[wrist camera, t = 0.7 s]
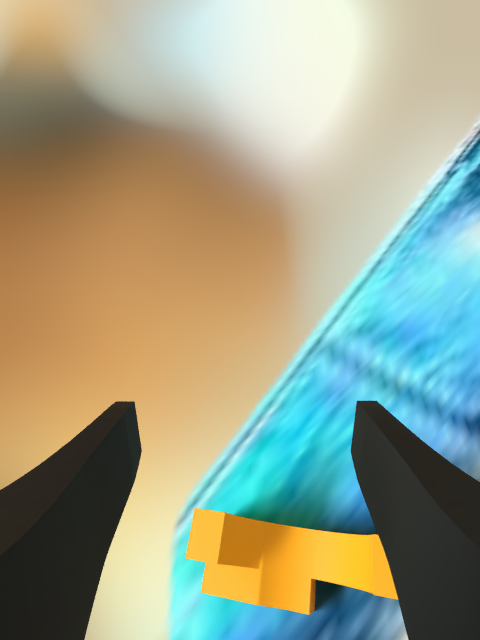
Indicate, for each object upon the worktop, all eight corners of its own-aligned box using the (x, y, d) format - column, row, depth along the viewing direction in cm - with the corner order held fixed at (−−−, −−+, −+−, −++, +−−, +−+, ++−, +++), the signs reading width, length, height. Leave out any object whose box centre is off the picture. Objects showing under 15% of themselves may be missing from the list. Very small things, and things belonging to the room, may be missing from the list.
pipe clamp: (218, 589, 26) (178, 595, 21) (229, 518, 28) (194, 508, 23) (411, 631, 22) (421, 651, 17) (407, 545, 24) (414, 540, 19)
